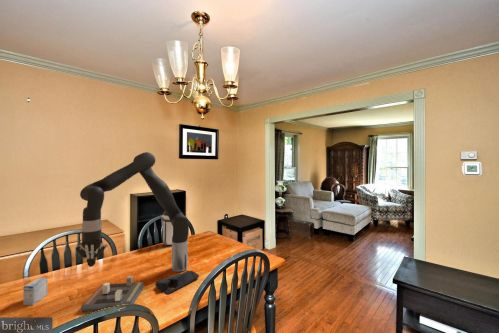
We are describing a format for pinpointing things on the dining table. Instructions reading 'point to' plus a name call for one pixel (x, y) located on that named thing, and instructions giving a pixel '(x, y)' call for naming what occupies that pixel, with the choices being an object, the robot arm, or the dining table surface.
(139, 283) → the breaker panel
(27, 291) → the medicine box
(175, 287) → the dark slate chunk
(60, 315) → the dining table surface
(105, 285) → the handle
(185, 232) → the robot arm
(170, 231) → the coffee press
